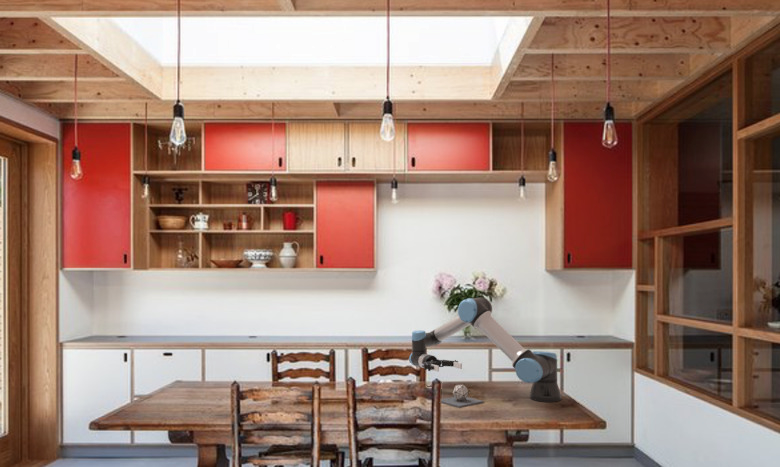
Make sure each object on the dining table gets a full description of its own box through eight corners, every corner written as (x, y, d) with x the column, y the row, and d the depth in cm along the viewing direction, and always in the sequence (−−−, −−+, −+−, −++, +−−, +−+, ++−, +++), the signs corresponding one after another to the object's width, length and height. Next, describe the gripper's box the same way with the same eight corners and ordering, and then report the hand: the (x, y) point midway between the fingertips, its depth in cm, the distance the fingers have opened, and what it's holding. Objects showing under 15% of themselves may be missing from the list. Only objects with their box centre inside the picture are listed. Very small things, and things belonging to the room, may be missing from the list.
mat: (460, 397, 317) (460, 395, 317) (483, 402, 304) (483, 401, 304) (436, 401, 307) (436, 400, 307) (459, 407, 294) (459, 406, 294)
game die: (463, 408, 304) (468, 394, 298) (447, 401, 306) (451, 387, 300) (469, 396, 311) (473, 382, 305) (453, 389, 313) (457, 375, 307)
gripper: (448, 366, 340) (470, 372, 321) (407, 371, 329) (428, 377, 310) (448, 352, 341) (470, 357, 322) (407, 356, 329) (428, 362, 310)
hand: (449, 367), depth 316 cm, fingers open, 13 cm apart
